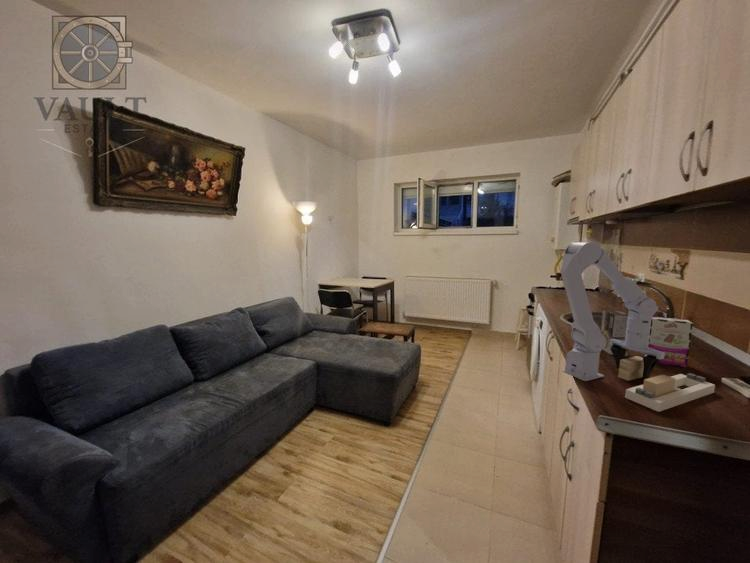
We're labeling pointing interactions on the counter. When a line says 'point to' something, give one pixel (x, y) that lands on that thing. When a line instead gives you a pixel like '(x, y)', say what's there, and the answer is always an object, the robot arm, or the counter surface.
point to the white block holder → (669, 391)
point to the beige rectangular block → (631, 368)
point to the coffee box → (614, 327)
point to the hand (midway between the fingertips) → (632, 372)
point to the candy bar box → (671, 339)
